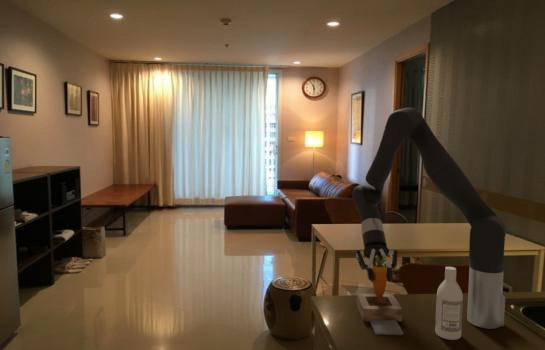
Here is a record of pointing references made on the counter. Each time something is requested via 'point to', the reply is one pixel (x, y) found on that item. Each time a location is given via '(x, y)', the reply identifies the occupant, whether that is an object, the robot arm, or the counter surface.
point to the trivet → (386, 327)
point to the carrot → (379, 277)
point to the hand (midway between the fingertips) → (381, 280)
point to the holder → (379, 307)
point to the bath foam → (449, 307)
